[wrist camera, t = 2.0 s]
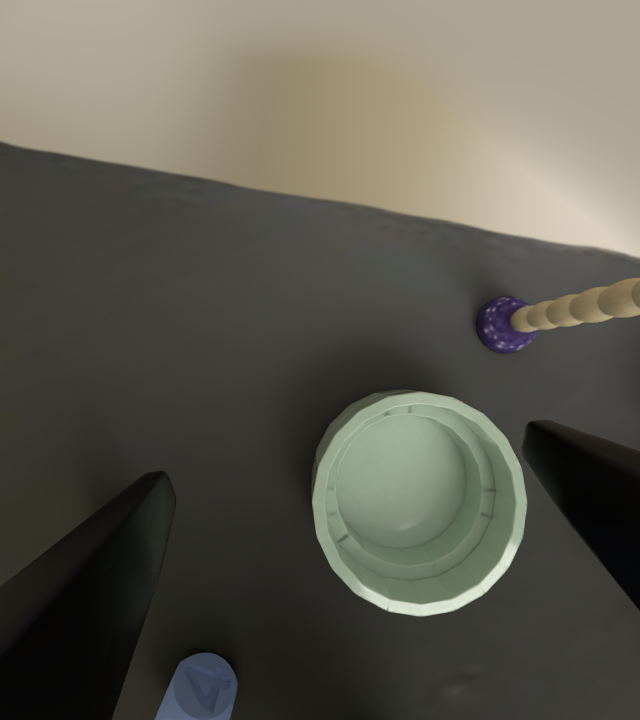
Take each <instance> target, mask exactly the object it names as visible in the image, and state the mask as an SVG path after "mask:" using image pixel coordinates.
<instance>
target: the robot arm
mask: <svg viewBox="0 0 640 720" xmlns="http://www.w3.org/2000/svg"><path fill="white" fill-rule="evenodd" d="M521 451H522V454H523V457H524V458H525V460H526V461H527V463H528V464H529V466H530V467H531V469H532V470H533V472H534V473H535V475H536V476H537V478H538V479H539V481H540V482H541V484H542V485H543V487H544V488H545V490H546V491H547V493H548V494H549V496H550V497H551V499H552V500H553V501H554V503H555V504H556V506H557V507H558V509H559V510H560V511H561V513H562V514H563V516H564V517H565V518H566V520H567V521H568V522H569V523H570V525H571V526H572V527H573V528H574V530H575V531H576V532H577V533H578V535H579V536H580V537H581V538H582V540H583V541H584V542H585V543H586V545H587V546H588V547H589V548H590V550H591V551H592V552H593V553H594V555H595V556H596V557H597V558H598V559H599V561H600V562H601V563H602V564H603V566H604V567H605V568H606V569H607V571H608V572H609V573H610V574H611V576H612V577H613V578H614V579H615V581H616V582H617V583H618V584H619V586H620V587H621V588H622V589H623V591H624V592H625V593H626V594H627V596H628V597H629V598H630V599H631V601H632V602H633V603H634V604H635V605H636V607H637V608H638V609H639V610H640V451H637V450H634V449H631V448H628V447H625V446H622V445H620V444H617V443H614V442H611V441H608V440H605V439H602V438H599V437H596V436H593V435H590V434H587V433H584V432H581V431H578V430H575V429H572V428H569V427H566V426H563V425H561V424H558V423H555V422H552V421H549V420H538V421H531V422H529V423H528V424H527V425H526V428H525V433H524V437H523V442H522V446H521ZM175 507H176V496H175V493H174V490H173V487H172V485H171V482H170V479H169V477H168V475H167V473H166V472H165V471H155V472H149V473H146V474H144V475H143V476H141V477H140V478H139V479H138V480H136V481H135V482H134V483H133V484H131V485H130V486H129V487H127V488H126V489H125V490H124V491H122V492H121V493H120V494H118V495H117V496H116V497H115V498H113V499H112V500H111V501H110V502H108V503H107V504H106V505H104V506H103V507H102V508H101V509H99V510H98V511H97V512H96V513H94V514H93V515H92V516H90V517H89V518H88V519H87V520H85V521H84V522H83V523H81V524H80V525H79V526H78V527H76V528H75V529H74V530H73V531H71V532H70V533H69V534H67V535H66V536H65V537H64V538H62V539H61V540H60V541H58V542H57V543H56V544H55V545H53V546H52V547H51V548H50V549H48V550H47V551H46V552H44V553H43V554H42V555H41V556H39V557H38V558H37V559H35V560H34V561H33V562H32V563H30V564H29V565H28V566H27V567H25V568H24V569H23V570H21V571H20V572H19V573H18V574H16V575H15V576H14V577H12V578H11V579H10V580H9V581H7V582H6V583H5V584H4V585H2V586H1V587H0V720H112V717H113V714H114V711H115V708H116V705H117V702H118V699H119V696H120V693H121V690H122V687H123V684H124V681H125V678H126V675H127V672H128V669H129V666H130V663H131V660H132V657H133V654H134V651H135V648H136V645H137V642H138V639H139V636H140V633H141V630H142V627H143V624H144V621H145V618H146V615H147V612H148V609H149V606H150V603H151V600H152V597H153V594H154V591H155V588H156V585H157V581H158V578H159V575H160V571H161V567H162V563H163V559H164V555H165V550H166V546H167V542H168V537H169V533H170V529H171V524H172V520H173V516H174V511H175Z"/></svg>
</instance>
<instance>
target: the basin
mask: <svg viewBox="0 0 640 720" xmlns="http://www.w3.org/2000/svg"><path fill="white" fill-rule="evenodd" d="M311 489H312V506H313V514H314V522H315V530H316V535H317V538H318V541H319V543H320V545H321V547H322V549H323V551H324V553H325V556H326V558H327V560H328V562H329V564H330V566H331V568H332V570H333V571H334V572H335V573H336V574H337V575H338V576H339V577H340V578H341V579H342V580H343V581H344V582H345V583H346V584H347V586H348V587H349V588H350V589H351V590H352V591H353V592H354V593H355V594H357V595H358V596H360V597H362V598H364V599H366V600H367V601H369V602H371V603H373V604H375V605H377V606H379V607H380V608H382V609H384V610H387V611H389V612H395V613H401V614H408V615H414V616H428V615H434V614H439V613H445V612H451V611H454V610H457V609H458V608H460V607H462V606H464V605H466V604H467V603H469V602H471V601H473V600H475V599H477V598H478V597H480V596H482V595H484V593H486V592H487V591H488V590H489V589H490V588H491V587H492V586H493V585H494V583H495V582H496V581H497V580H498V579H499V578H500V577H501V576H502V575H503V574H504V573H505V571H506V570H507V569H508V568H509V566H510V564H511V562H512V560H513V558H514V555H515V553H516V551H517V549H518V547H519V545H520V542H521V540H522V538H523V537H522V536H523V532H524V525H525V517H526V510H527V497H526V491H525V485H524V479H523V473H522V469H521V466H520V464H519V462H518V460H517V458H516V456H515V454H514V452H513V450H512V448H511V446H510V444H509V442H508V440H507V438H506V437H505V436H504V435H503V433H502V432H501V431H500V430H499V429H498V428H497V427H496V426H495V425H494V424H493V423H492V422H491V421H490V420H489V419H488V418H487V417H486V416H485V415H484V414H482V413H481V412H480V411H478V410H476V409H474V408H472V407H470V406H469V405H467V404H465V403H463V402H461V401H459V400H458V399H456V398H453V397H449V396H443V395H438V394H432V393H427V392H421V391H412V390H404V389H399V390H391V391H384V392H377V393H373V394H371V395H369V396H367V397H365V398H363V399H361V400H359V401H357V402H355V403H353V404H351V405H349V406H348V407H347V408H346V409H345V410H344V411H343V412H342V413H341V414H340V415H339V416H338V417H337V418H336V419H335V420H334V421H333V422H332V423H330V425H329V427H328V428H327V430H326V432H325V434H324V436H323V438H322V440H321V442H320V443H319V445H318V447H317V450H316V453H315V459H314V464H313V470H312V475H311Z"/></svg>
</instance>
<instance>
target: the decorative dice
mask: <svg viewBox="0 0 640 720" xmlns="http://www.w3.org/2000/svg"><path fill="white" fill-rule="evenodd" d="M237 687H238V682H237V678H236V676H235V673H234V671H233V670H232V668H231V666H230V665H229V664H228V663H227V662H226V661H225V660H224V659H223V658H222V657H220V656H218V655H216V654H212V653H198V654H195V655H192V656H190V657H188V658H186V659H184V660H183V661H181V662H180V663H179V665H178V667H177V669H176V671H175V673H174V676H173V678H172V680H171V682H170V685H169V687H168V689H167V692H166V694H165V696H164V699H163V701H162V704H161V706H160V708H159V711H158V713H157V716H156V718H155V720H230V717H231V713H232V709H233V705H234V701H235V697H236V693H237Z"/></svg>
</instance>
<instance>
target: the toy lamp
mask: <svg viewBox="0 0 640 720" xmlns="http://www.w3.org/2000/svg"><path fill="white" fill-rule="evenodd" d="M636 315H640V278H631V279H626V280H623V281H620V282H617V283H615V284H612V285H611V286H609V287H597V288H592V289H589V290H586V291H584V292H582V293H580V294H579V295H578V294H572V295H566V296H563V297H560V298H558V299H557V300H555V301H545V302H541V303H539V304H537V305H535V306H531V305H530V304H528V303H527V302H525V301H524V300H522V299H519V298H515V297H499V298H496V299H493V300H491V301H490V302H488V303H487V304H486V305H485V306H484V307H483V308H482V310H481V311H480V314H479V317H478V319H477V329H478V333H479V336H480V338H481V340H482V341H483V343H484V344H485V345H486V346H487V347H489V348H490V349H492V350H494V351H496V352H499V353H512V352H515V351H518V350H520V349H522V348H524V347H525V346H527V345H528V344H529V343H530V342H531V341H532V340H533V338H534V337H535V335H536V333H537V330H538V329H552V328H555V327H558V326H565V327H566V326H574V325H578V324H581V323H583V322H589V323H595V322H601V321H605V320H608V319H610V318H613V317H632V316H636Z"/></svg>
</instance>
